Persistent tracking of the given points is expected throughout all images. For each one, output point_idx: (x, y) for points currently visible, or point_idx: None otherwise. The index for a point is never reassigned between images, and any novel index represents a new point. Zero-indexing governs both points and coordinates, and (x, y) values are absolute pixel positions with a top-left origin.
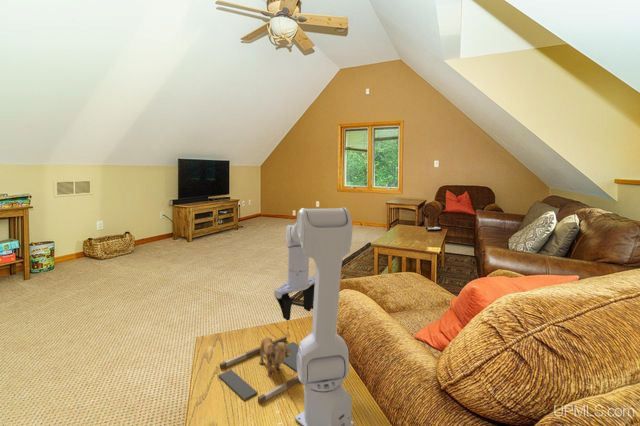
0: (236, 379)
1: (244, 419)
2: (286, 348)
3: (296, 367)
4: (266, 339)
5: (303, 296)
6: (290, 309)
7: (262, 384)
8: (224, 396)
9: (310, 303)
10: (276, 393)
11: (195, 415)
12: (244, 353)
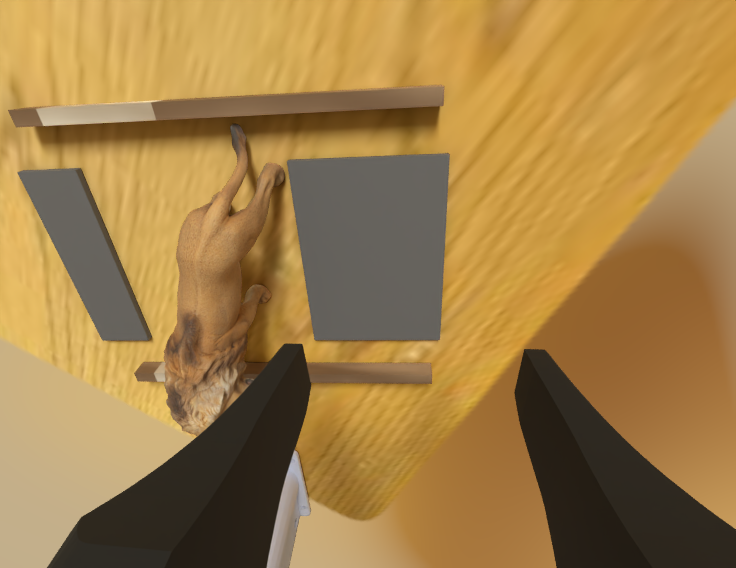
0: (90, 245)
1: (96, 385)
2: None
3: (324, 324)
4: (192, 267)
5: (575, 441)
6: (279, 488)
7: None
8: (47, 285)
9: (536, 475)
10: None
11: None
12: (147, 106)
